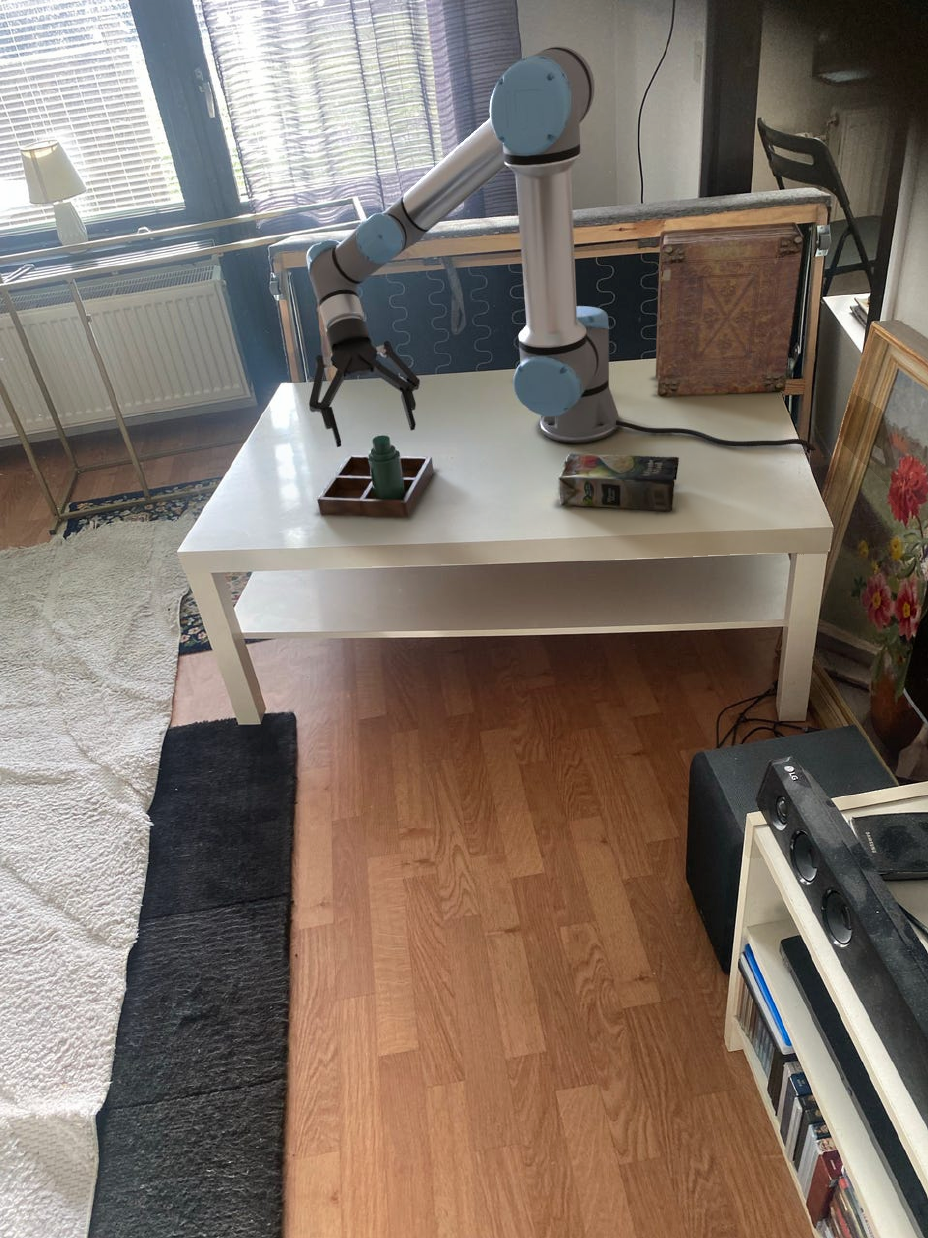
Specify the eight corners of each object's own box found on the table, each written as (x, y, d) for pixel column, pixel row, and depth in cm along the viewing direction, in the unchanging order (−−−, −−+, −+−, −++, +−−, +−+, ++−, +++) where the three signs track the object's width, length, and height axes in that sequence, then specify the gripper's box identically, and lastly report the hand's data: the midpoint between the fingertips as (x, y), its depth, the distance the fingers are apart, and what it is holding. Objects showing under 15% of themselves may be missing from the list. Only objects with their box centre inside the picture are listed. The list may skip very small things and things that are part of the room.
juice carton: (552, 506, 156) (551, 474, 152) (563, 479, 163) (563, 448, 159) (671, 514, 150) (673, 481, 146) (677, 485, 158) (679, 453, 154)
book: (656, 396, 186) (660, 244, 168) (655, 377, 193) (659, 230, 175) (785, 391, 182) (803, 235, 164) (779, 372, 189) (796, 221, 171)
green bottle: (411, 492, 163) (401, 432, 156) (401, 509, 159) (391, 447, 152) (381, 491, 165) (370, 431, 157) (371, 507, 160) (360, 446, 153)
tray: (433, 471, 170) (431, 456, 169) (408, 517, 158) (405, 502, 156) (351, 469, 175) (348, 454, 173) (320, 514, 162) (317, 499, 160)
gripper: (410, 322, 170) (441, 428, 167) (279, 350, 165) (308, 458, 163) (413, 302, 162) (445, 412, 160) (276, 330, 158) (306, 443, 155)
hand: (376, 435), depth 161 cm, fingers open, 13 cm apart
